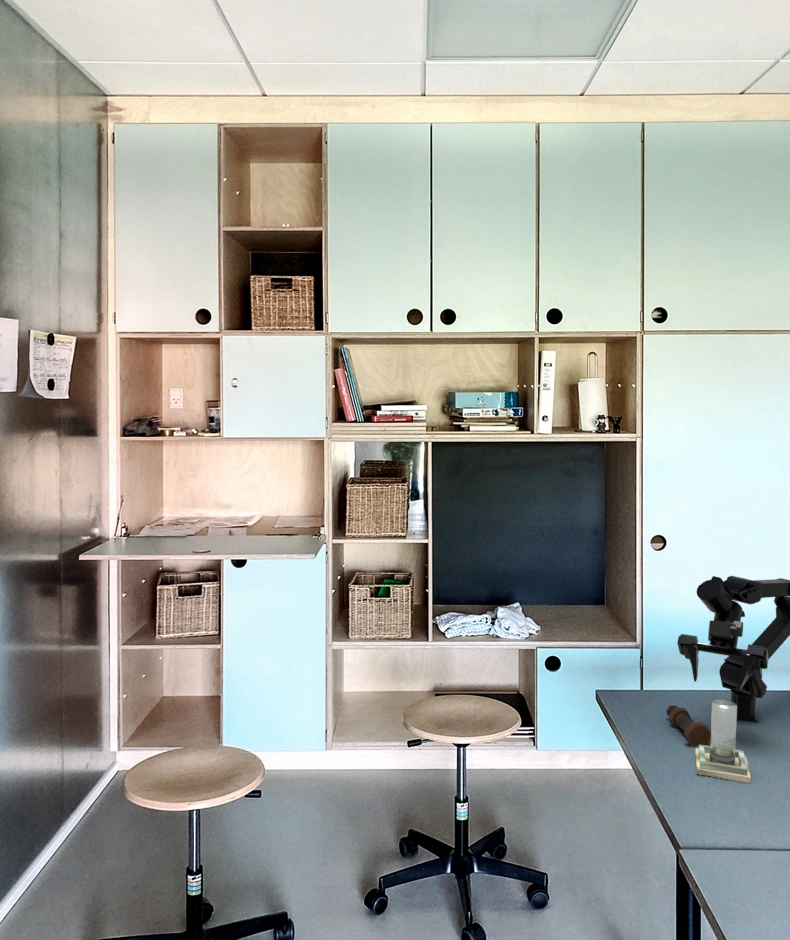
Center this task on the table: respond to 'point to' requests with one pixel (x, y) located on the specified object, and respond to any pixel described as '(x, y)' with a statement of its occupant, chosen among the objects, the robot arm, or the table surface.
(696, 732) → the bolt
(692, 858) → the table surface
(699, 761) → the tray
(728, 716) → the grey cylindrical piece
